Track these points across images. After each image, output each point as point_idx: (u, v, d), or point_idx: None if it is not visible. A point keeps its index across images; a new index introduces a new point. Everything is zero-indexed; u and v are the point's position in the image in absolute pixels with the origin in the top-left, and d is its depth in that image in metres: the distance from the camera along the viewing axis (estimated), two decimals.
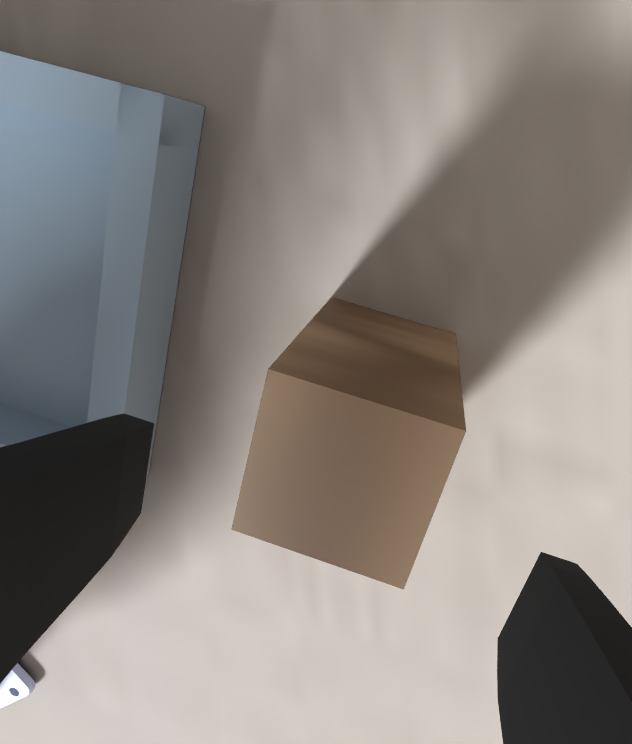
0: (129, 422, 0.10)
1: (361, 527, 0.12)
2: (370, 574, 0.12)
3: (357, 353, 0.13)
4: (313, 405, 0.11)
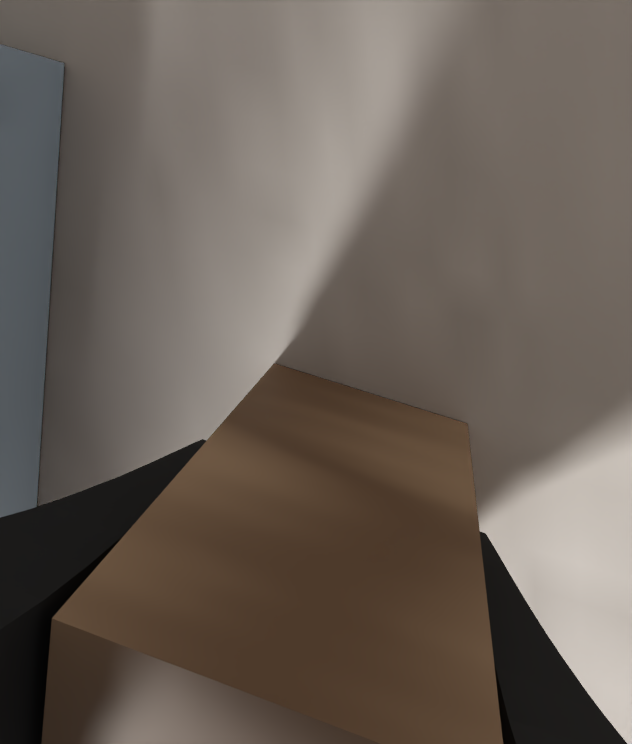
0: None
1: None
2: None
3: (287, 512, 0.07)
4: (159, 697, 0.05)
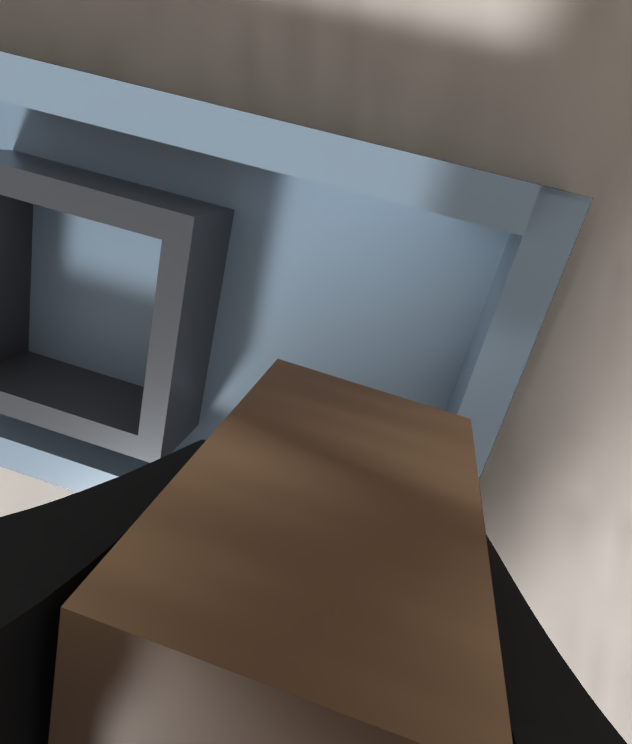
0: None
1: None
2: None
3: (292, 503, 0.07)
4: (167, 686, 0.05)
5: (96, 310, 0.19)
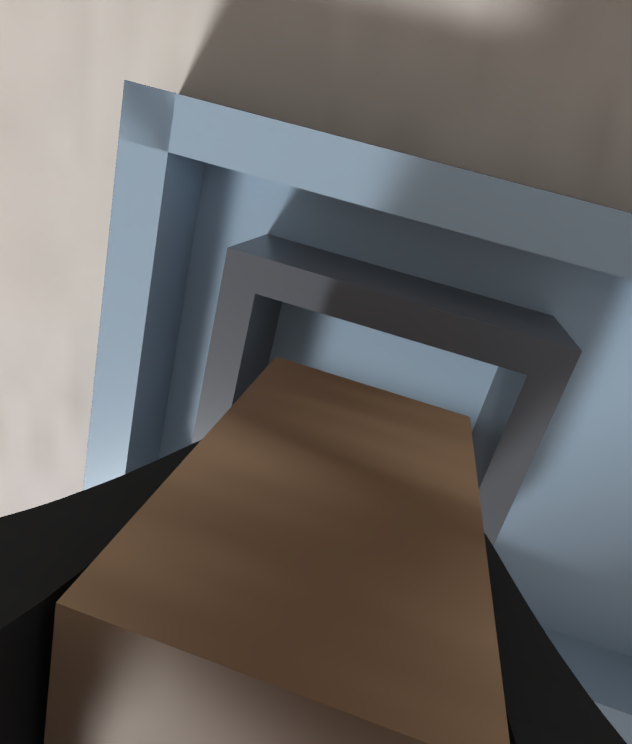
0: None
1: None
2: None
3: (290, 500, 0.07)
4: (163, 683, 0.05)
5: None
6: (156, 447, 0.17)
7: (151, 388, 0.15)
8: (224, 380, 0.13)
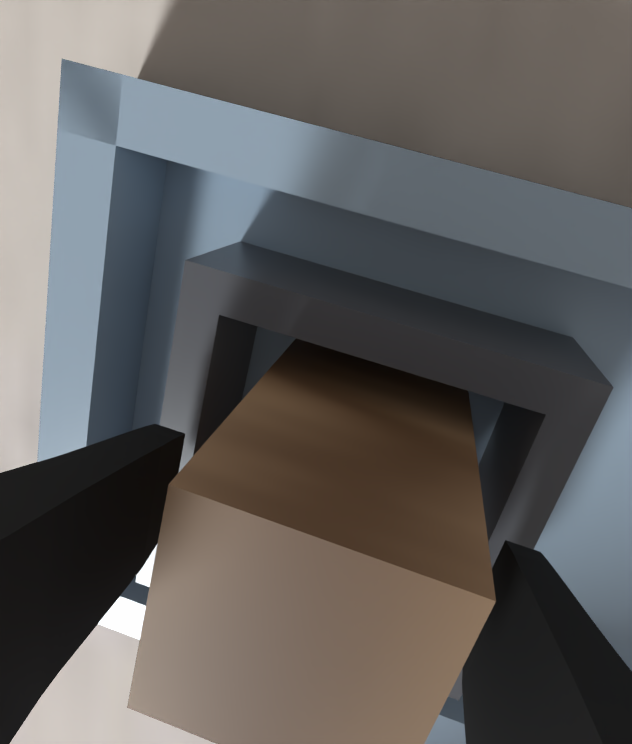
0: (161, 433, 0.09)
1: (323, 724, 0.07)
2: None
3: (325, 433, 0.09)
4: (243, 545, 0.07)
5: None
6: None
7: (109, 418, 0.13)
8: (185, 415, 0.11)
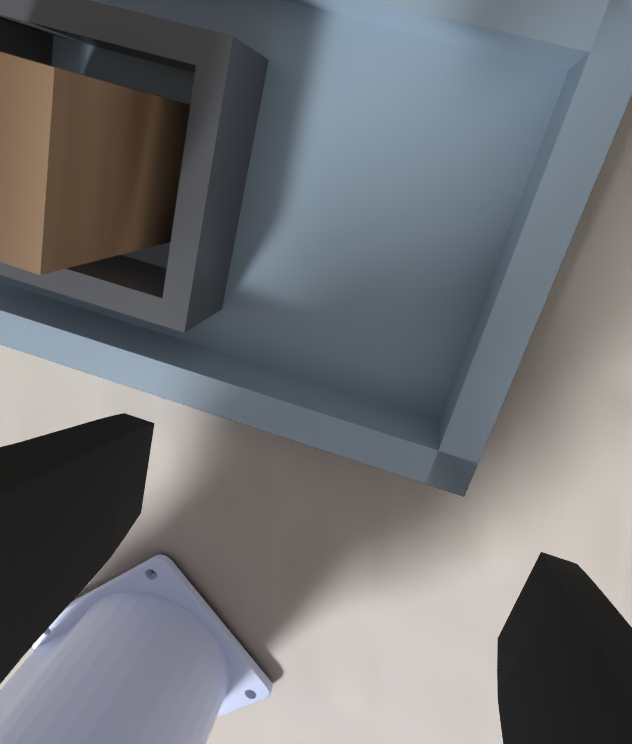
0: (129, 422, 0.10)
1: None
2: (11, 263, 0.12)
3: None
4: None
5: None
6: None
7: None
8: None
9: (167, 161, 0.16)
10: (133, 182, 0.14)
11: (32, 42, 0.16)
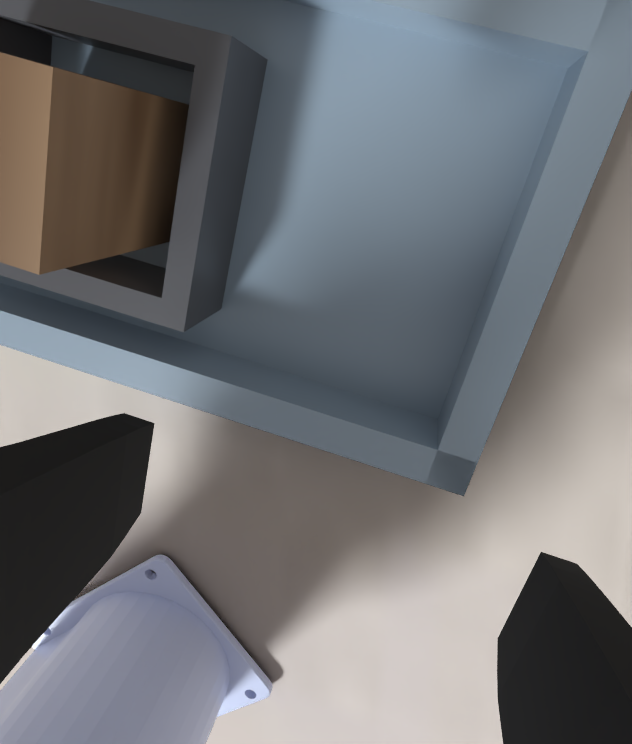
0: (129, 422, 0.10)
1: None
2: (10, 263, 0.12)
3: None
4: None
5: None
6: None
7: None
8: None
9: (166, 161, 0.16)
10: (132, 182, 0.14)
11: (31, 42, 0.16)
